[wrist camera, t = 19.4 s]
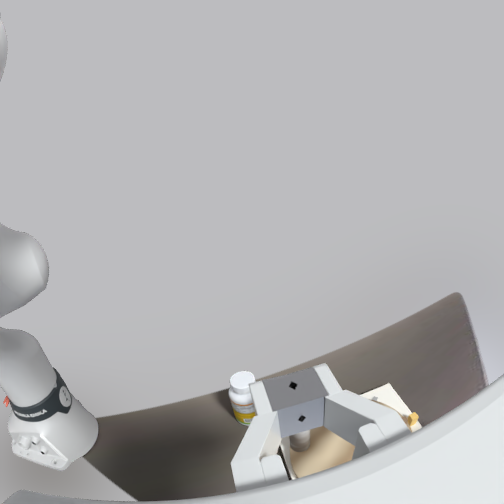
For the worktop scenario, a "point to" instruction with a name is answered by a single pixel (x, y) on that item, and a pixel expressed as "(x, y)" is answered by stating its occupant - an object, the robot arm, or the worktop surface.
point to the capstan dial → (321, 449)
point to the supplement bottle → (242, 396)
